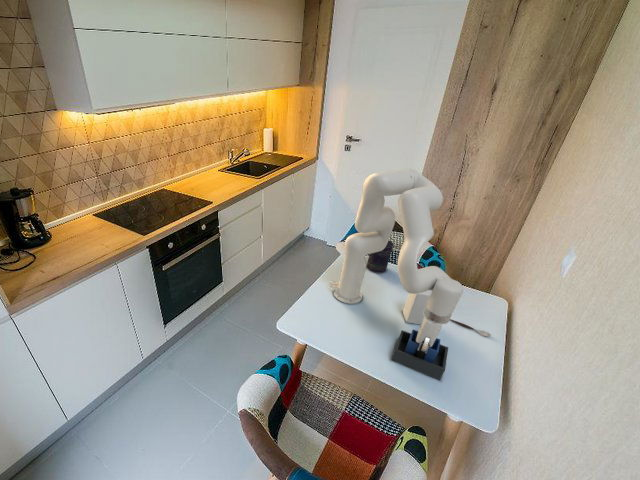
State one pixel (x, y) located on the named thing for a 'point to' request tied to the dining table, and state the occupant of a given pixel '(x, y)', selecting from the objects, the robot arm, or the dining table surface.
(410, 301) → the milk carton
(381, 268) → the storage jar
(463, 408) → the dining table surface
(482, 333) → the fork
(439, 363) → the base bin
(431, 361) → the nested bin
